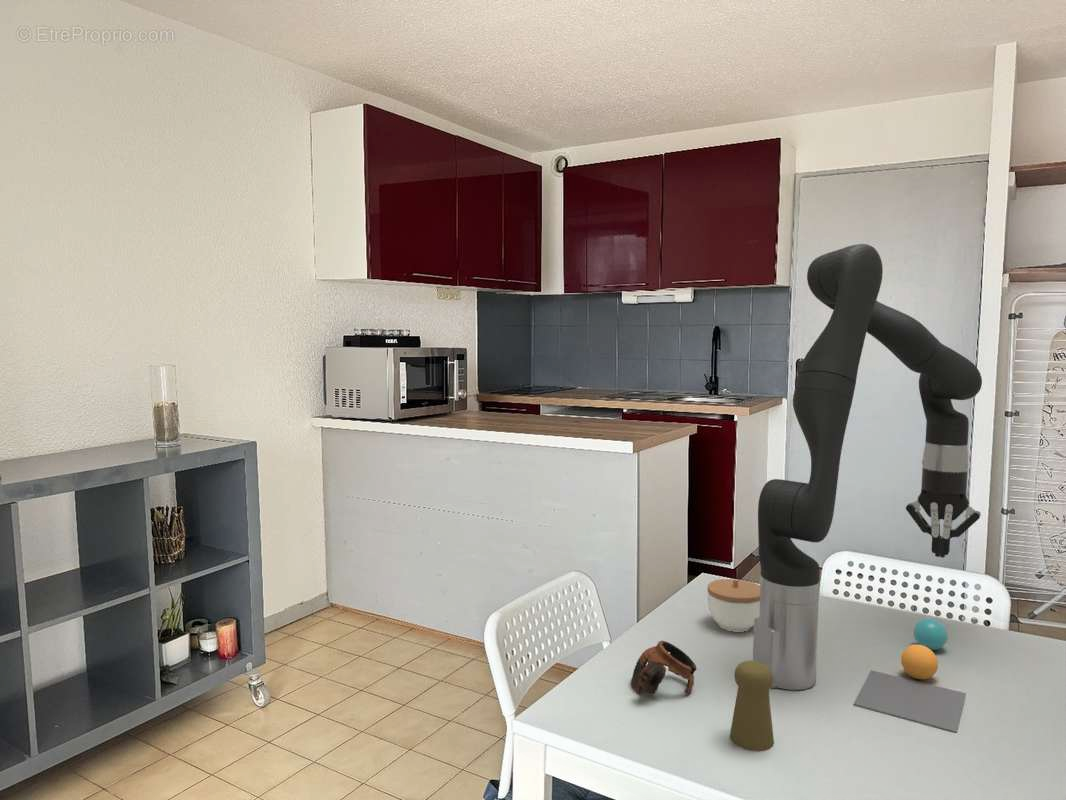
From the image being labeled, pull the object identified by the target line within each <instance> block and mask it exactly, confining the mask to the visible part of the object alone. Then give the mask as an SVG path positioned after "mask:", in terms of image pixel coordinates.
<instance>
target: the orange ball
mask: <svg viewBox="0 0 1066 800" xmlns="http://www.w3.org/2000/svg"><path fill="white" fill-rule="evenodd" d="M900 662H901V665H902V668H903V670H904V671H905V673H906V674H907V675H908V676H910V677H912V678H914V679H917V680H927V679H928V680H929V679H930V678H931V679H932V677H934V676H935V675H936V673H937V671H938V668H939V661H938V657H937V655H936V654H935V653H934V652H933V650H930V649H929V648H927V647H925V646H923V645H919V644H911V645H909V646H906V648H905V649H903V651H902V652H901V656H900Z"/></svg>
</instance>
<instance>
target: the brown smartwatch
mask: <svg viewBox="0 0 1066 800" xmlns="http://www.w3.org/2000/svg"><path fill="white" fill-rule="evenodd" d="M635 664H636V665H634V669H633V673H632V677H631V679H630V683H631V686H632V688H633V689H634V691H636V692H637V694H640V693H641V689H642V690H643V692H644V693H646V694H649V695H655V694H656V692H657V690H658V687H659V685H660V684H661V683H662V682H663V679H664V678H665V676H666V672H667V670H668V672H671V673H673V674H675V675H677V676H679V677H681V678H682V679H684V680H687V685H686V688H685V690H684V693H685V695H687V696H688V695H690V694H691V691H692V689H693V686H694V684H695V682H694V679H695V677H694V673H695V672H696V670H697V666H696V665H697V664H696V663H695V662H694V661H693V660H692V659H691V657H689V655H688V654H686V653H685V652H684V651H683V650H681V649H680V648H678V647H677V646H675V645H674V644H672V643H670V642H669V641H665V640H660V641H659V640H658V642H657V644H656V645H655V646H651V647H649V648H647V649H645V650H644V651H643V652H642V653H641V655H640V656H639V657H638V659H637V661H636V662H635ZM666 667H667V668H666Z"/></svg>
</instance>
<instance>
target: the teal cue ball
mask: <svg viewBox="0 0 1066 800" xmlns="http://www.w3.org/2000/svg"><path fill="white" fill-rule="evenodd" d="M913 637H914V639H915V641H916V643H917V645H923V646H925V647H927V648H929V649H930V650H931V651H936V650H940V649H942V648H943V647H944V646H945V645H946V644H947V642H948V631H947V628H946V627H945V626H944V624H942V623H941V622H940V621H938V620H936V619H934V618H923V619H920V620H919V621H918V622H916V624H915V625H914V627H913Z"/></svg>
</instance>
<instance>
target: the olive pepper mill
mask: <svg viewBox="0 0 1066 800" xmlns="http://www.w3.org/2000/svg"><path fill="white" fill-rule="evenodd" d="M734 680H735V684H736V685H737V691H736V697H735V702H734V703H735V704H734V708H733V714H732V715H733V716H732V721H731V727H730V730H729V731H730V733H729V739H730V741H731V742H732V744H734V745H736V747H739V748H741V749H743V750H748V751H750V752H751V751H752V752H765V751H769V750H771V749H772V748H773V747H774V745H775V739H774V731H773V728H774V727H773V721H772V720H773V719H772V711H771V701H770V700H771V699H770V693H769V691H770V690H771V689H772V688H771V686H772V683H773V675H772V671H771V670H770V668H769V667H768V666H766V665H765V664H763V663H760V662H757V661H753V660H746V661H742V662H739V663H738V664H737V666H736V668H735V669H734ZM771 747H772V748H771Z"/></svg>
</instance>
